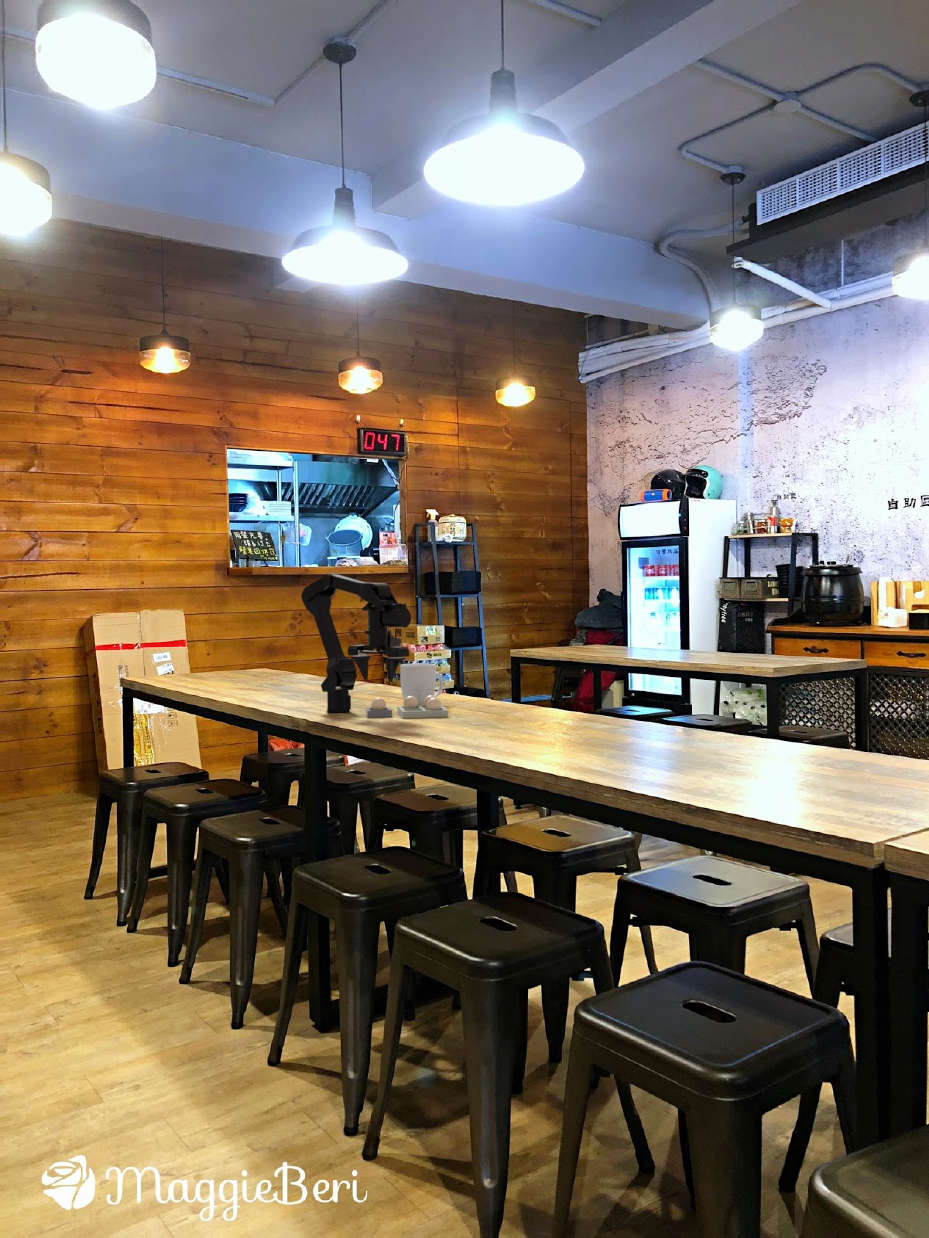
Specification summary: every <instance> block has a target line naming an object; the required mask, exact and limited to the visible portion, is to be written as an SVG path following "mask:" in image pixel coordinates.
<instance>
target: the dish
mask: <svg viewBox="0 0 929 1238" xmlns="http://www.w3.org/2000/svg"><path fill="white" fill-rule="evenodd" d="M365 715H366V717H367V718H393V709H392V708H391V707H389V706H386V707H385V709H384V710H373V709H372V707H365Z"/></svg>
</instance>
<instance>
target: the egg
mask: <svg viewBox="0 0 929 1238" xmlns="http://www.w3.org/2000/svg"><path fill="white" fill-rule="evenodd" d="M371 701H372V702H371V704H370V705H371V708H372V709H373V710H384V709H385V707H387V703H386V701H385V698H382V697H375V698H374V699H372V700H371Z"/></svg>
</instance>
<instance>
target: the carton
mask: <svg viewBox="0 0 929 1238" xmlns="http://www.w3.org/2000/svg"><path fill="white" fill-rule="evenodd" d="M402 704H403V705H399V706H398V705H397V706H396V707H397V709H396V711H397V714H398V715H399V716H400V717H401V718H402V719H423V718H424V719H425V718H428V719H429V718H449V710H448V709H447V707H445V706H443V705H442V701H441V700H440V699H439V698H438V697H435V696H432V695H430V696H427V697H426V698H425V700H424V705H421V706H417V705H418V701H417V699H416V698H415V697H413V696H408V697H406V698H405V699H403V703H402Z"/></svg>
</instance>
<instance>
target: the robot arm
mask: <svg viewBox="0 0 929 1238" xmlns="http://www.w3.org/2000/svg"><path fill="white" fill-rule="evenodd" d="M337 590H340V591H343V592H347V593H351V594H353V595H357V596H358V597H359V598H360V599H361V600H362V601H365V603H366V604H365V605H364V606H363V607H362V608H361V610H362V612H367V630H364V635H367V644H355V645H354V644H353V645H351V644H350V645H349V646H348V648H347V656H350V658H348V657H346V656H345V653H344V650H343V648H342V644H341V642H340V639H339V635H338V633H337V630H336V626H335V623H334V621H333V617H332V615H331V607H332V597H333V596H334V595H336V592H337ZM300 597H301V601H302V603H303V605H304V608H305V609H306V610H307V611H308V612H309V613H310V615H312V616H313V619H314V620H315V625H316V627H317V630H318V633H319V637H320V639H321V642H322V646H323V648H324V651H325V654H326V657H327V665H326V668H325V669H326V675H327V676H326V677H325V678H324V680H323V681H322V682H321V684H320V687H321V692H323V693H324V692H325V693H326V694H327V695H326V699H327V700H326V706H327V708H326V712H327V713H331V714H332V713H333V714H334V713H350V711H351V710H352V702H351V701H352V697H351V695H350V692H349V691H353V690H354V687H355V683H356V682H357V679H358V673H357V672H358V670H359V672H360V674H361V676H362V679H363V680H364V681H368V679H369V661H370V659H371V657H372V655H384V656H385V655H386V656H387V657H388V658H387V657H386V658H384V659H385V665H386V674H387V678H388V682H389V683H393V680H394V678H395V675H396V673H397V670H398V667H399V665H400V663H401V662H402V661H403V660H406V658H407V657H410V649H409V648H408V646H401V645H402V639H400V638H397V637H395V636H393V635H392V631H391V630H390V629H389V628H408V627H409V626H410V624H411V621H412V614H411V611H410V610H409V608H407V603H399V602H398V601H397V600H396V598H395V595H394V594H393V592H392V590H391V586H390V585H389V584H387V583H385V582H381V583H380V582H365V581H361V580H358V579H355V578H351V577H347V576H344V575H341V574H339V573H325V574H324V575H322V577H321V578H319V579H317V580H315V581H313V582H311V583H310V584H309V585H308V586H305V587H304V588H303V590H302V592H301V595H300ZM355 664H356V665H355ZM356 666H357V667H356ZM357 668H358V669H357Z"/></svg>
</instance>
